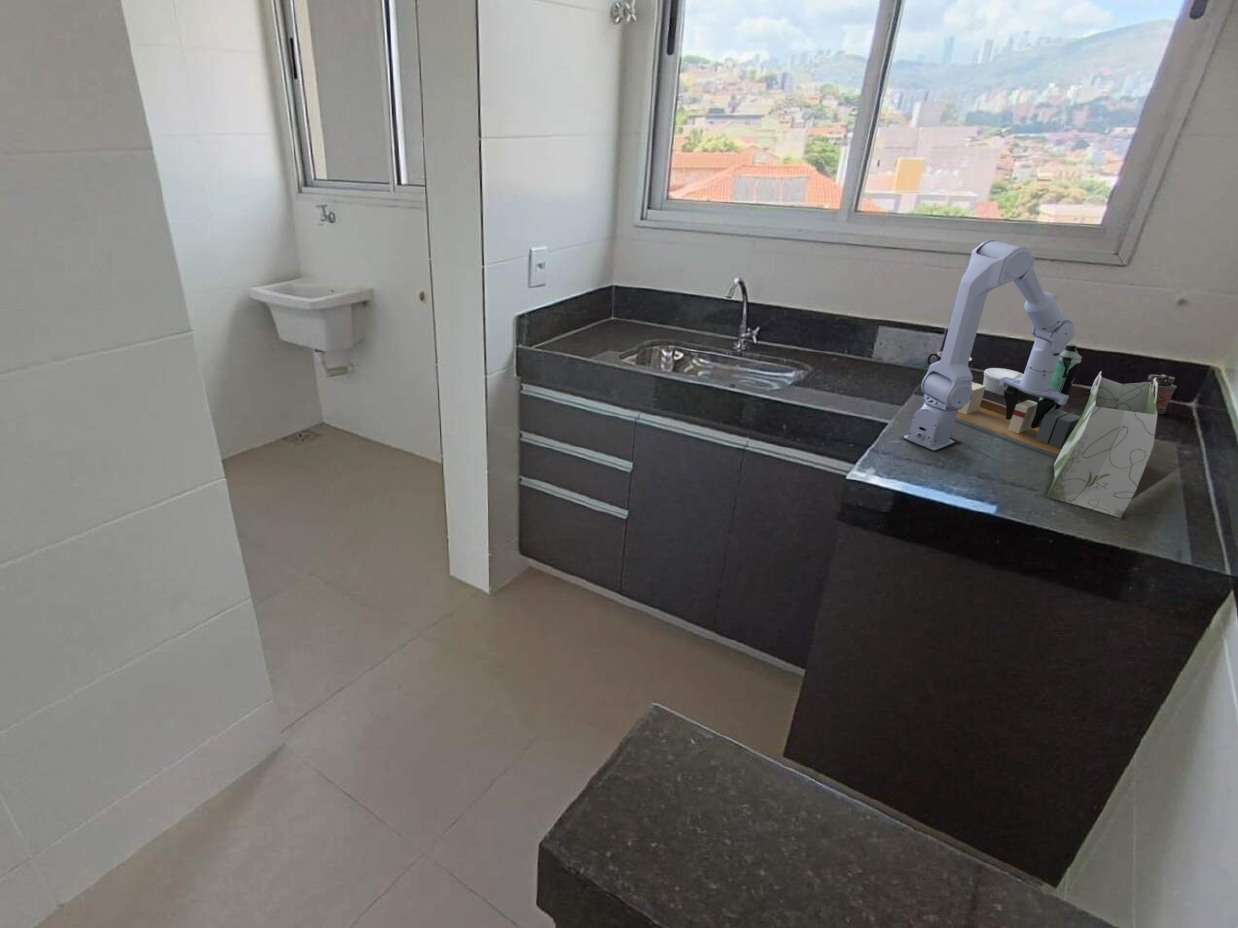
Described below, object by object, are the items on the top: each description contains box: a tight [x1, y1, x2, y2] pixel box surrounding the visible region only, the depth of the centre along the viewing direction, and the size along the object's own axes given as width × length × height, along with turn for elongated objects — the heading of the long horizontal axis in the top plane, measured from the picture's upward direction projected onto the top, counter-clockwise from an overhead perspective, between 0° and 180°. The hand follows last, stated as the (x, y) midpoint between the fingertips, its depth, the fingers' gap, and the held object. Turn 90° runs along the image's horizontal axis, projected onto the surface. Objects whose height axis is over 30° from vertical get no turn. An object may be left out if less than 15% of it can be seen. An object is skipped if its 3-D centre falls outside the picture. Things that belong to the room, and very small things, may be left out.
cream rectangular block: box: [958, 382, 986, 415], centre depth 169 cm, size 6×3×6 cm, turn 126°
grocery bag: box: [1045, 370, 1158, 519], centre depth 137 cm, size 32×14×23 cm, turn 144°
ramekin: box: [982, 367, 1024, 397], centre depth 186 cm, size 11×11×5 cm
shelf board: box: [956, 397, 1063, 456], centre depth 164 cm, size 14×31×3 cm, turn 36°
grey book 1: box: [1036, 409, 1069, 444], centre depth 156 cm, size 6×3×6 cm, turn 126°
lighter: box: [1142, 374, 1177, 415], centre depth 178 cm, size 8×3×10 cm, turn 84°
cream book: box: [1008, 399, 1038, 434], centre depth 160 cm, size 6×3×6 cm, turn 126°
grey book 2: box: [1049, 412, 1082, 448], centre depth 154 cm, size 6×3×6 cm, turn 126°
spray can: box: [1038, 344, 1083, 413], centre depth 165 cm, size 6×6×20 cm
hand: (1021, 422), depth 161 cm, fingers open, 5 cm apart
